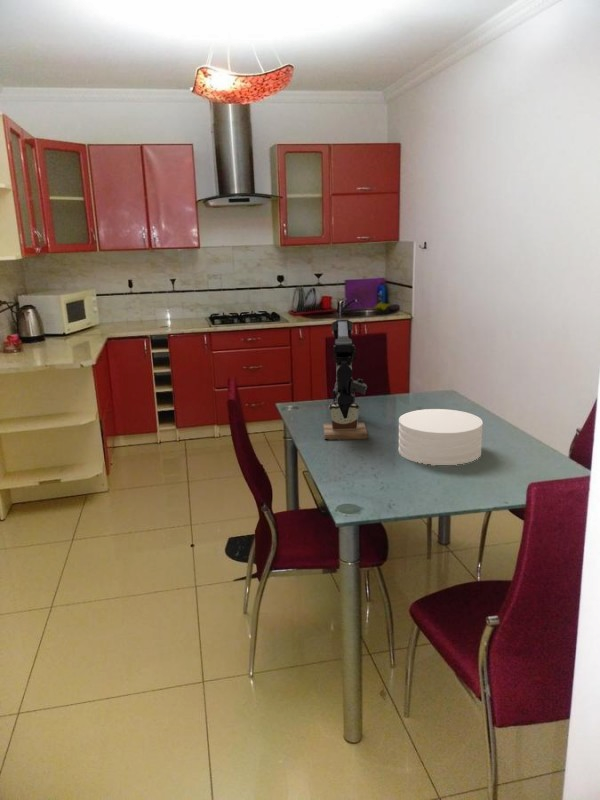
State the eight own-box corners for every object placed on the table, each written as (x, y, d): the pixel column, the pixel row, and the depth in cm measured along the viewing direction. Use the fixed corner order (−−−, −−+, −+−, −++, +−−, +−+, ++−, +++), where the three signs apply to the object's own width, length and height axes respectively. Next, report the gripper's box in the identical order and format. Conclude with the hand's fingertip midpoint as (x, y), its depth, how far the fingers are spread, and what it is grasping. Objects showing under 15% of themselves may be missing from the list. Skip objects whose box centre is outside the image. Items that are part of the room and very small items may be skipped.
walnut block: (323, 428, 235) (323, 423, 234) (363, 427, 235) (363, 422, 234) (324, 440, 221) (324, 434, 221) (367, 438, 221) (367, 433, 221)
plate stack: (480, 441, 215) (482, 410, 213) (481, 469, 190) (483, 435, 187) (402, 436, 223) (403, 407, 220) (393, 463, 197) (394, 430, 194)
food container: (359, 424, 232) (359, 399, 229) (360, 429, 226) (360, 404, 223) (327, 425, 232) (327, 400, 230) (328, 430, 226) (328, 405, 224)
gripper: (368, 380, 213) (368, 421, 217) (363, 369, 231) (363, 407, 235) (337, 381, 213) (337, 422, 217) (334, 369, 231) (335, 408, 235)
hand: (344, 414), depth 226 cm, fingers open, 9 cm apart
